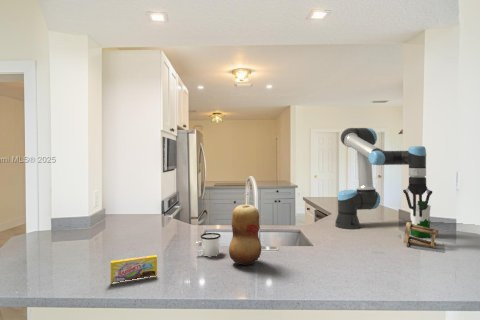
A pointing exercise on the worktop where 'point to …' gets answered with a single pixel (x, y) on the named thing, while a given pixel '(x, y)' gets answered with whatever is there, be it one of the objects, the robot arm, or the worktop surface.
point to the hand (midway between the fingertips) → (417, 222)
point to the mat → (439, 247)
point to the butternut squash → (245, 235)
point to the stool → (421, 229)
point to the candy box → (133, 268)
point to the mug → (210, 244)
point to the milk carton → (421, 220)
